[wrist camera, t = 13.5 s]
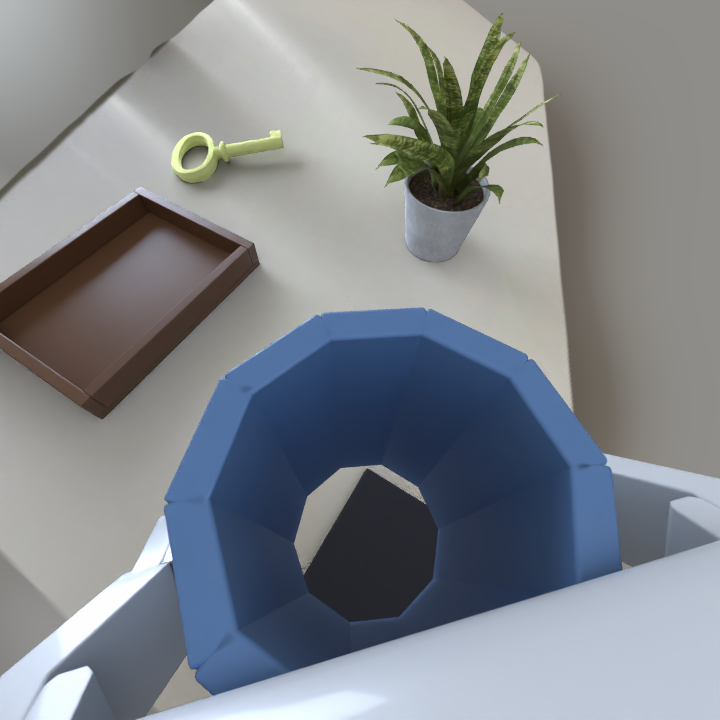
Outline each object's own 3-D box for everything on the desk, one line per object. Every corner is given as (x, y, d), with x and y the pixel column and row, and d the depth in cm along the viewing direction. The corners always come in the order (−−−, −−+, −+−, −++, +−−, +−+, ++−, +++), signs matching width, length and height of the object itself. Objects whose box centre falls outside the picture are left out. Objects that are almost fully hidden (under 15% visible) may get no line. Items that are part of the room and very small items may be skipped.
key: (291, 156, 42) (288, 137, 40) (182, 188, 39) (173, 169, 37) (267, 124, 45) (263, 105, 43) (164, 152, 42) (155, 132, 40)
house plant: (377, 175, 41) (393, -36, 27) (504, 200, 39) (593, -9, 25) (340, 269, 34) (335, 52, 20) (492, 303, 32) (605, 96, 18)
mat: (437, 750, 18) (439, 754, 18) (275, 624, 21) (274, 625, 20) (506, 556, 23) (509, 555, 22) (366, 469, 25) (366, 467, 25)
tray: (102, 419, 26) (80, 406, 24) (-18, 333, 29) (-47, 315, 27) (260, 264, 34) (254, 243, 32) (151, 209, 37) (139, 186, 35)
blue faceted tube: (407, 693, 11) (557, 1000, 3) (240, 567, 12) (55, 561, 5) (482, 506, 14) (667, 418, 6) (337, 421, 15) (326, 257, 7)
